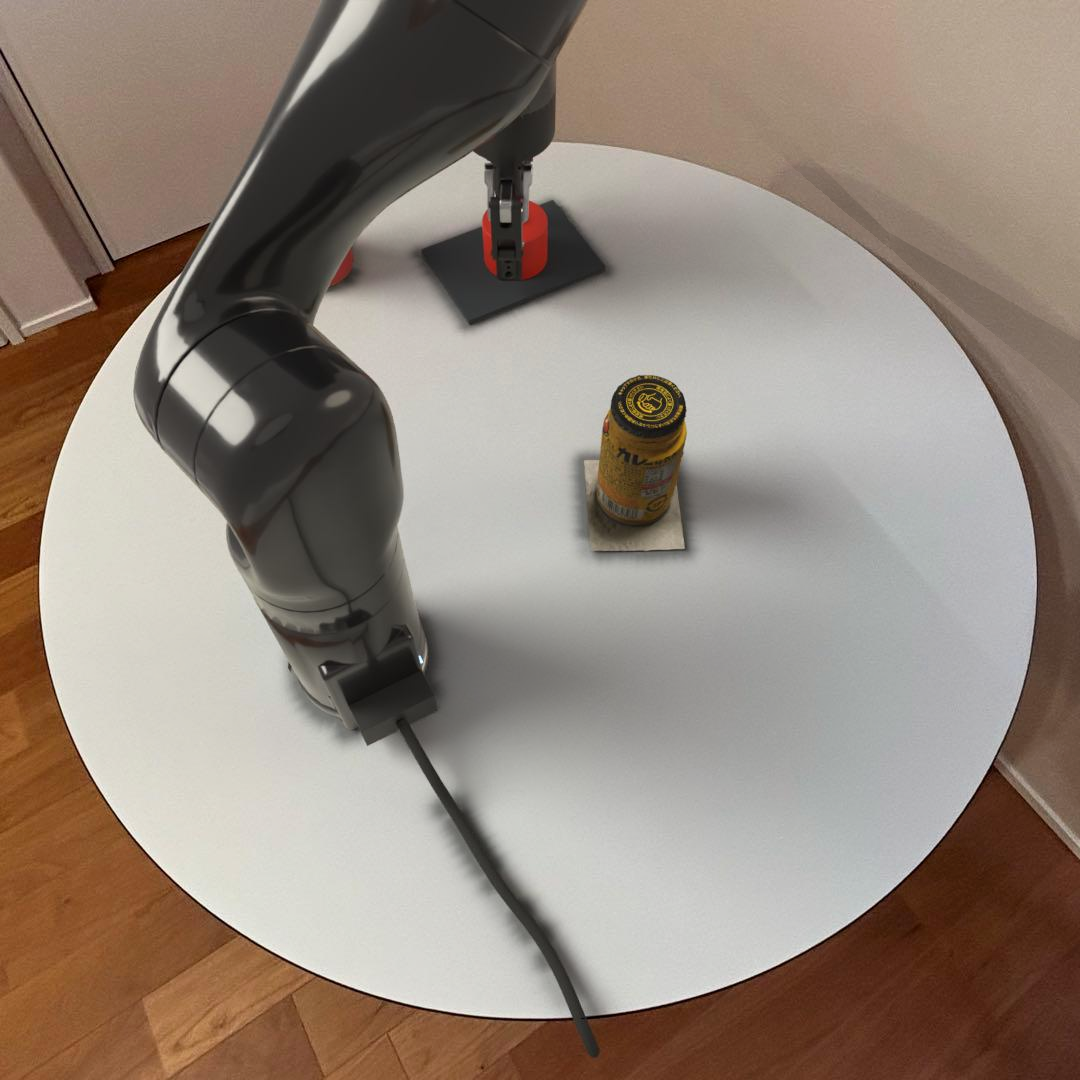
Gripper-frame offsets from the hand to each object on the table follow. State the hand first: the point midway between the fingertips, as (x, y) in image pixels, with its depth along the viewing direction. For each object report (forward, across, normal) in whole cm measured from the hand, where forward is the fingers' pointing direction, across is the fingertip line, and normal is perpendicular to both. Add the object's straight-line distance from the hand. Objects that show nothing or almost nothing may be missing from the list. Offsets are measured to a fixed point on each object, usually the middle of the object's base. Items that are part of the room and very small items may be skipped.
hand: (511, 243), depth 89 cm
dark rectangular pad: (+2, 0, 0) cm, 2 cm away
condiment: (+3, -26, -11) cm, 28 cm away
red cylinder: (+2, 0, 0) cm, 2 cm away
